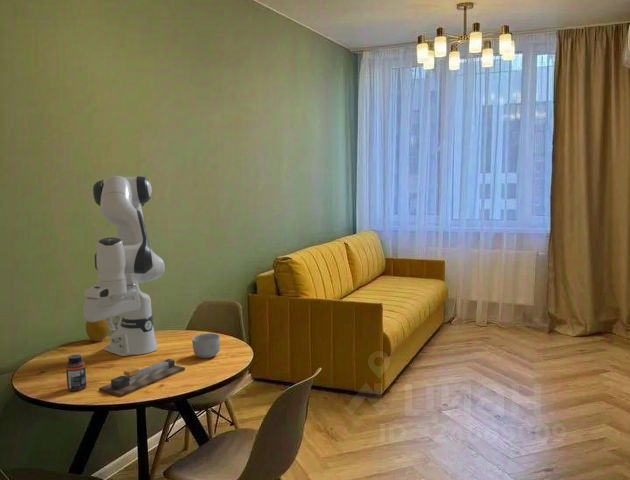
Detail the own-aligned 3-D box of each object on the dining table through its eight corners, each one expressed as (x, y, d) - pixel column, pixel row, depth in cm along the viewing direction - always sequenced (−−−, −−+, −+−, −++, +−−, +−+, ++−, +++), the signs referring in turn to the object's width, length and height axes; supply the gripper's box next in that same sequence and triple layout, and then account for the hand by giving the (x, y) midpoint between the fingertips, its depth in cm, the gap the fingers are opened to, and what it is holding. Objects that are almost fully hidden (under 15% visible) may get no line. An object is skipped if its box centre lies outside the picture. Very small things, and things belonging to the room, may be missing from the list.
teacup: (214, 361, 212) (213, 340, 211) (188, 359, 214) (187, 339, 214) (227, 350, 226) (226, 331, 225) (202, 349, 228) (201, 330, 227)
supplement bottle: (71, 385, 188) (69, 353, 187) (89, 385, 188) (87, 353, 187) (64, 392, 182) (62, 359, 181) (83, 391, 183) (81, 358, 181)
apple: (113, 337, 248) (112, 312, 247) (103, 343, 238) (101, 317, 237) (93, 337, 249) (91, 311, 248) (81, 343, 239) (80, 317, 238)
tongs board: (121, 396, 177) (121, 385, 177) (99, 391, 183) (98, 379, 182) (184, 369, 202) (184, 359, 202) (163, 365, 208) (162, 355, 207)
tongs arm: (129, 381, 185) (129, 377, 185) (123, 379, 187) (123, 376, 186) (174, 363, 203) (174, 360, 203) (168, 362, 205) (168, 358, 205)
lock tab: (129, 376, 185) (129, 372, 185) (123, 375, 186) (123, 371, 186) (138, 372, 189) (138, 368, 188) (133, 371, 190) (132, 367, 190)
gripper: (130, 282, 190) (132, 321, 191) (79, 292, 172) (81, 335, 174) (143, 283, 187) (145, 323, 188) (92, 294, 169) (95, 338, 170)
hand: (114, 329), depth 181 cm, fingers closed
